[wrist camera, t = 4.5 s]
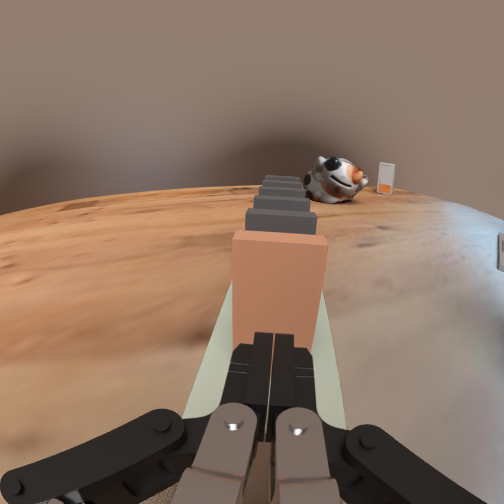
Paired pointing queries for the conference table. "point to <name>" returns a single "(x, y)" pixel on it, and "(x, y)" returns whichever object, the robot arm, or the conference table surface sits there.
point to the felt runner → (217, 365)
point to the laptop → (501, 252)
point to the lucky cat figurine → (334, 180)
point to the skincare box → (386, 178)
